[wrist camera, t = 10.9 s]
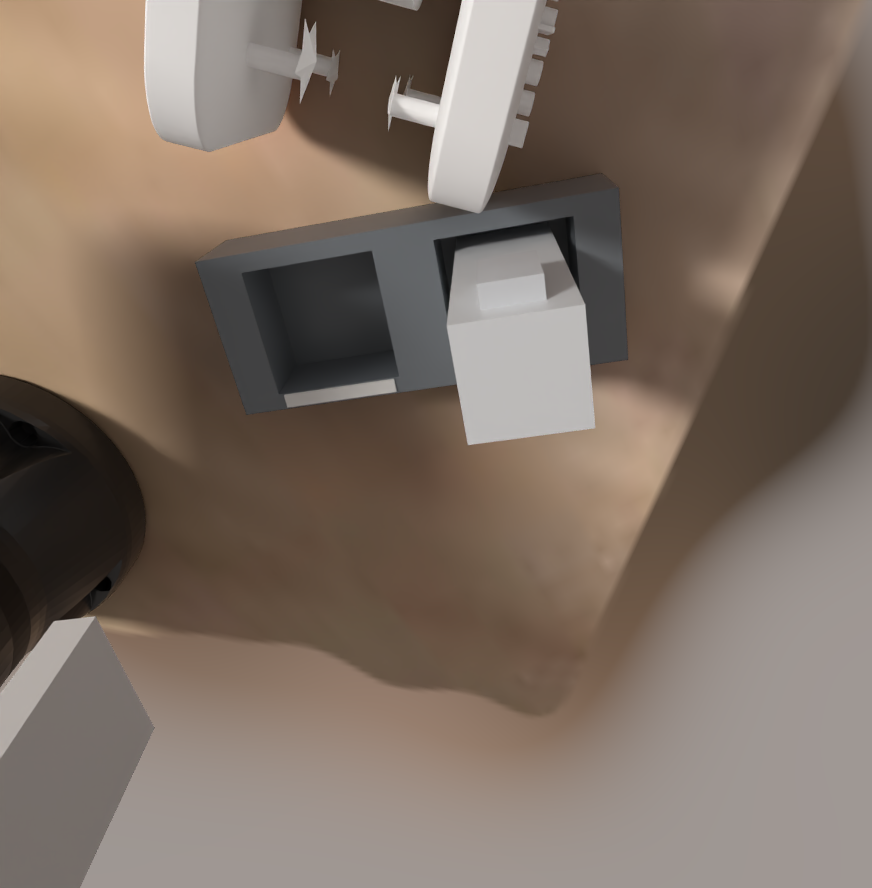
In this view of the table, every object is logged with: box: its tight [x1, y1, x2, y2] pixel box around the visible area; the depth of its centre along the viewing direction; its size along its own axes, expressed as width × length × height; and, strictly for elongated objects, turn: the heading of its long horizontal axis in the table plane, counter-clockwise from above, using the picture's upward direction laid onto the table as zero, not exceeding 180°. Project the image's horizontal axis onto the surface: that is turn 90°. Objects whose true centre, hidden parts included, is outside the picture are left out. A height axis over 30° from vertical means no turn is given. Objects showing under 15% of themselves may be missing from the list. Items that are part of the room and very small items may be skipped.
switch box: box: [195, 173, 628, 415], centre depth 31 cm, size 17×7×4 cm, turn 100°
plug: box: [447, 222, 595, 445], centre depth 26 cm, size 4×5×12 cm
